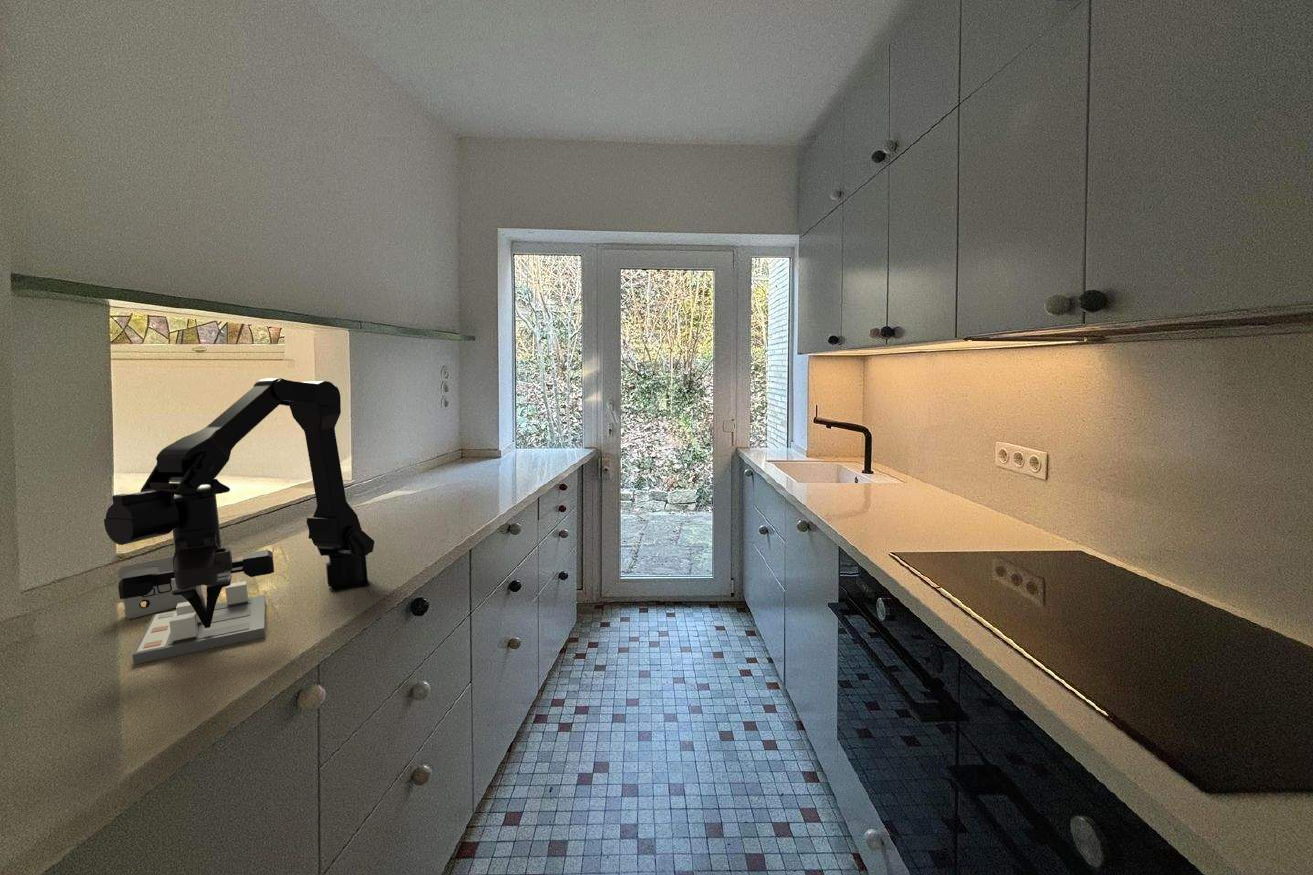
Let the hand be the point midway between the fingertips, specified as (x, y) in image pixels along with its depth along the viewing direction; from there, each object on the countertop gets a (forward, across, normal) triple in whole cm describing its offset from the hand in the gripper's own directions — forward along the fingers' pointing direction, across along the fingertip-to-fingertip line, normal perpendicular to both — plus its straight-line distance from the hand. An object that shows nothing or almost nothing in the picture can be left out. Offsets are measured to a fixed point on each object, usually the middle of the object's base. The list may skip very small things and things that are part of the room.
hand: (207, 627), depth 96 cm
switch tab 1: (+1, -3, +7) cm, 8 cm away
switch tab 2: (+1, -3, 0) cm, 3 cm away
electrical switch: (+3, -10, +25) cm, 27 cm away
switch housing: (+3, -1, +7) cm, 8 cm away
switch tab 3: (+1, +3, +14) cm, 14 cm away
